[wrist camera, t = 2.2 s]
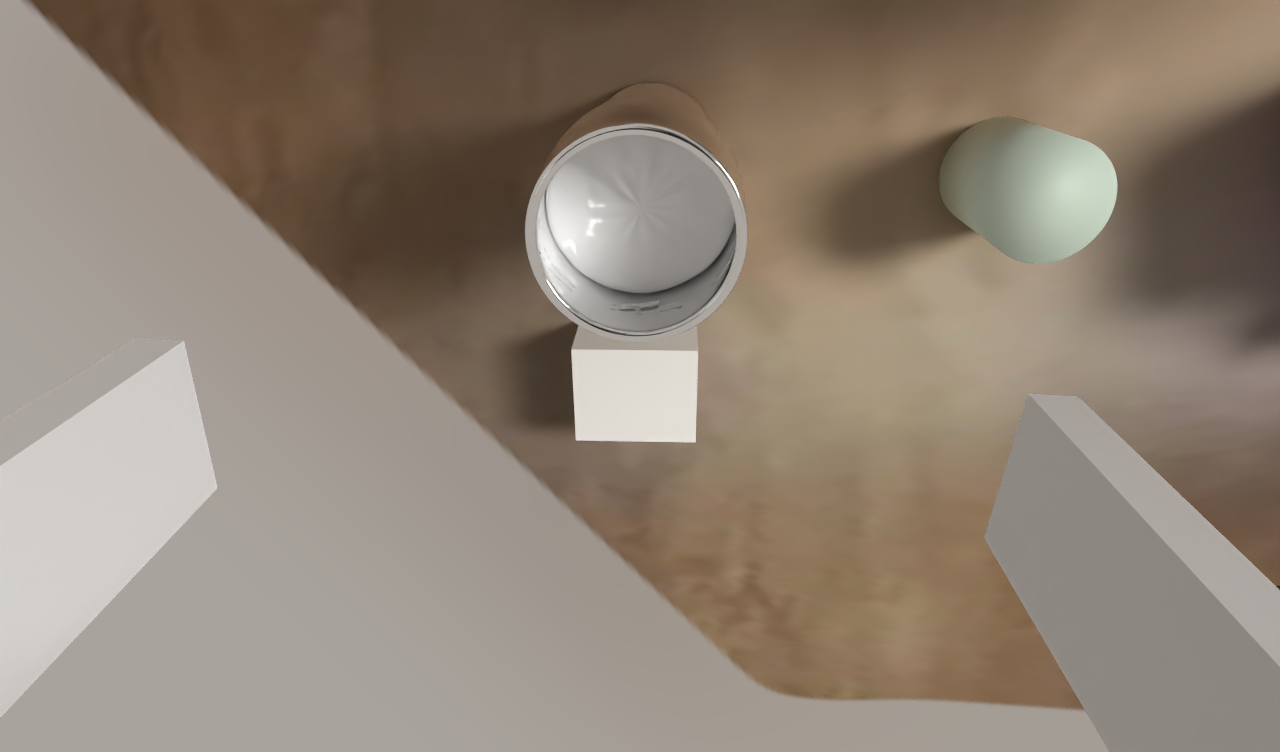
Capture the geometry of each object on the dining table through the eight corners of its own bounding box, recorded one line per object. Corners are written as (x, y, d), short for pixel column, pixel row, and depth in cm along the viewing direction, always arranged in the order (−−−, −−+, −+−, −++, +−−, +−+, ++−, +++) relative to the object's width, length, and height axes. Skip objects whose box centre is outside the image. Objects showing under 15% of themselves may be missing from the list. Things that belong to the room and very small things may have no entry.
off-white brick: (584, 403, 42) (575, 440, 38) (580, 318, 40) (571, 349, 36) (693, 404, 42) (695, 442, 38) (696, 319, 40) (698, 350, 36)
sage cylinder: (952, 113, 34) (1003, 133, 29) (1063, 120, 34) (1135, 141, 29) (928, 222, 37) (971, 259, 31) (1032, 228, 37) (1094, 267, 31)
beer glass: (746, 192, 36) (787, 302, 23) (613, 246, 38) (578, 379, 24) (693, 45, 34) (704, 72, 20) (551, 109, 35) (474, 174, 22)
